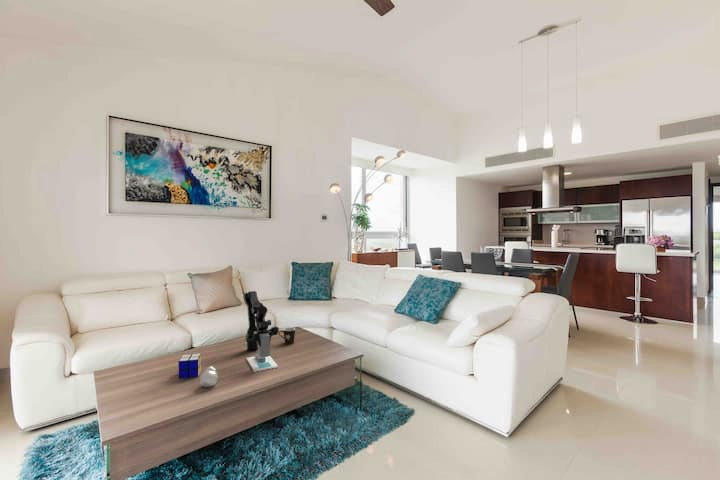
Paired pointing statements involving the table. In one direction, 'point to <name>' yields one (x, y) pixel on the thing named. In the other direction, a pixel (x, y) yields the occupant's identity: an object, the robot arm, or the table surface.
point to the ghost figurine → (209, 377)
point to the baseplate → (261, 363)
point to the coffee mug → (288, 335)
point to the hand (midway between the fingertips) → (265, 345)
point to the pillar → (264, 345)
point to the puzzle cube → (190, 366)
